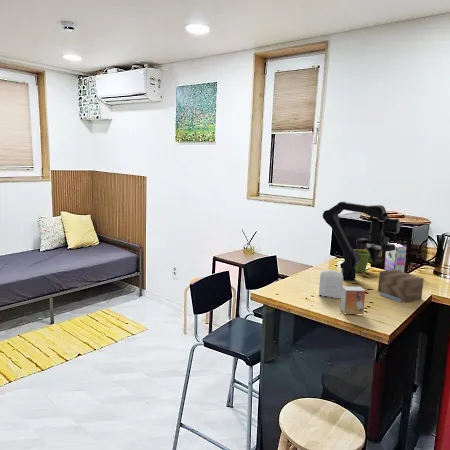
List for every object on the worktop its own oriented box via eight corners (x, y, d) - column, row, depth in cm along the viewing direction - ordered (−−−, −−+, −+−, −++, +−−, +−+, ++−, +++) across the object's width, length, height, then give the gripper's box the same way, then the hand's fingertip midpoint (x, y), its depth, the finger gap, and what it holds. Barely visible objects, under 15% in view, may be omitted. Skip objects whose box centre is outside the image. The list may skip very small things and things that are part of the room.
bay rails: (380, 295, 180) (380, 293, 180) (400, 289, 189) (400, 287, 189) (399, 302, 172) (400, 299, 172) (419, 295, 181) (420, 293, 181)
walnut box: (377, 291, 186) (379, 271, 185) (392, 289, 191) (394, 269, 189) (405, 302, 172) (408, 281, 171) (421, 299, 176) (423, 278, 175)
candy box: (404, 276, 212) (407, 247, 209) (393, 276, 212) (396, 246, 209) (394, 269, 225) (396, 241, 223) (383, 269, 225) (386, 241, 223)
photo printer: (342, 296, 178) (343, 270, 176) (341, 299, 174) (343, 272, 172) (319, 293, 181) (320, 268, 179) (318, 296, 177) (320, 270, 175)
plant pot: (366, 275, 213) (368, 255, 211) (345, 271, 219) (346, 252, 217) (372, 270, 223) (373, 251, 221) (351, 266, 229) (352, 248, 227)
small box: (343, 315, 156) (345, 290, 155) (339, 310, 162) (341, 285, 160) (363, 315, 156) (365, 290, 155) (359, 310, 162) (360, 286, 160)
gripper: (403, 232, 189) (400, 263, 192) (370, 226, 205) (368, 255, 207) (389, 234, 183) (386, 266, 186) (356, 228, 199) (354, 257, 201)
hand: (373, 261), depth 195 cm, fingers closed
